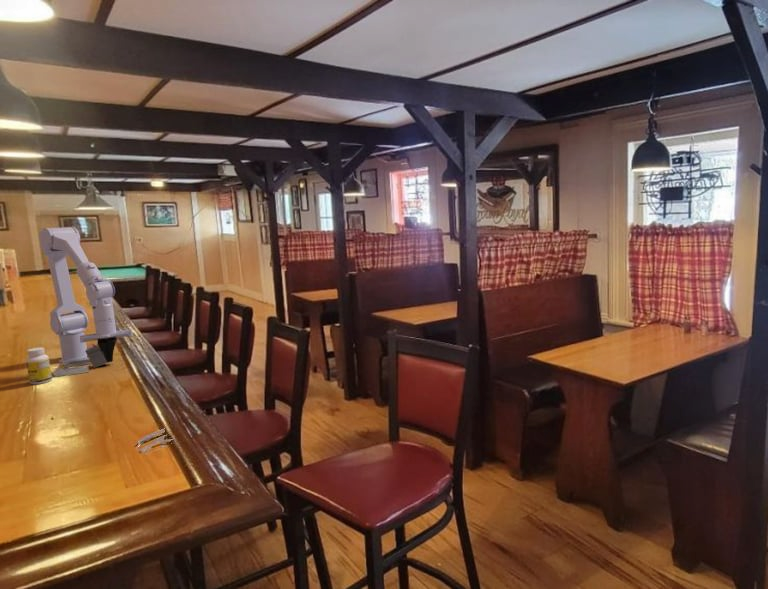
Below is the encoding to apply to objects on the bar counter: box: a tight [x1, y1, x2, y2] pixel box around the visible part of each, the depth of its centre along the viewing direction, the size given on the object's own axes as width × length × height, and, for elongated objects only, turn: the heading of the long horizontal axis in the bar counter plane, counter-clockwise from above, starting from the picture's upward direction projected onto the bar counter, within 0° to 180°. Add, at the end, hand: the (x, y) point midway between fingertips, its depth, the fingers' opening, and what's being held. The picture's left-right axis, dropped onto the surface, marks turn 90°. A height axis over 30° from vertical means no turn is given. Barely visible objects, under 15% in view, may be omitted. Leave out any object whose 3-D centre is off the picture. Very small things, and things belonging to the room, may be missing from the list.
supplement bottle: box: [25, 346, 53, 385], centre depth 147 cm, size 5×5×10 cm
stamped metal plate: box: [134, 427, 173, 455], centre depth 101 cm, size 8×7×2 cm
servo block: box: [85, 343, 109, 369], centre depth 161 cm, size 6×4×7 cm, turn 21°
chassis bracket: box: [53, 357, 92, 378], centre depth 159 cm, size 13×9×2 cm
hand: (110, 361), depth 163 cm, fingers closed
